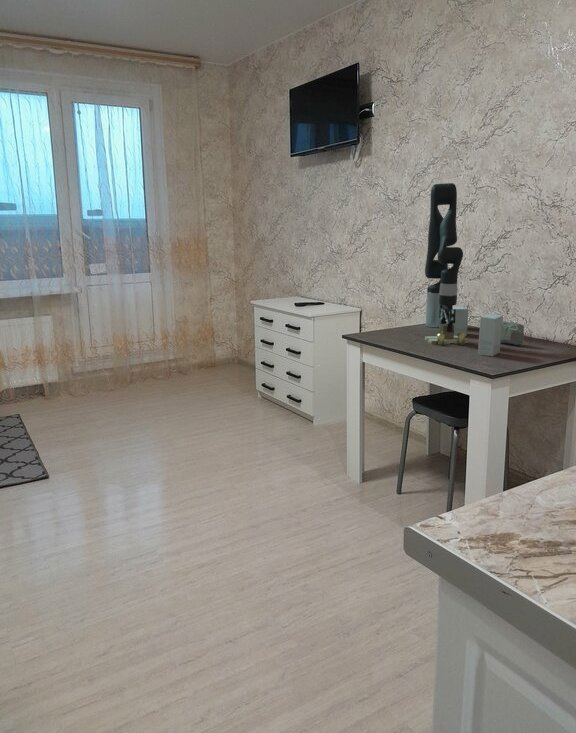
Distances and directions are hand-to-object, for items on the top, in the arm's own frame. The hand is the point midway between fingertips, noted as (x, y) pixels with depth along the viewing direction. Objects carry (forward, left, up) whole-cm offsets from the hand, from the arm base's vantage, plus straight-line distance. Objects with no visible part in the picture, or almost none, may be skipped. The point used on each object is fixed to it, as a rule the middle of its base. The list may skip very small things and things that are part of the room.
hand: (446, 330), depth 264 cm
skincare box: (+26, +9, -5) cm, 28 cm away
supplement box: (-16, +11, -5) cm, 20 cm away
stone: (+9, +25, -5) cm, 27 cm away
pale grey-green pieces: (0, 0, -6) cm, 6 cm away
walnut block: (0, 0, -4) cm, 4 cm away
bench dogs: (+7, 0, -5) cm, 8 cm away
